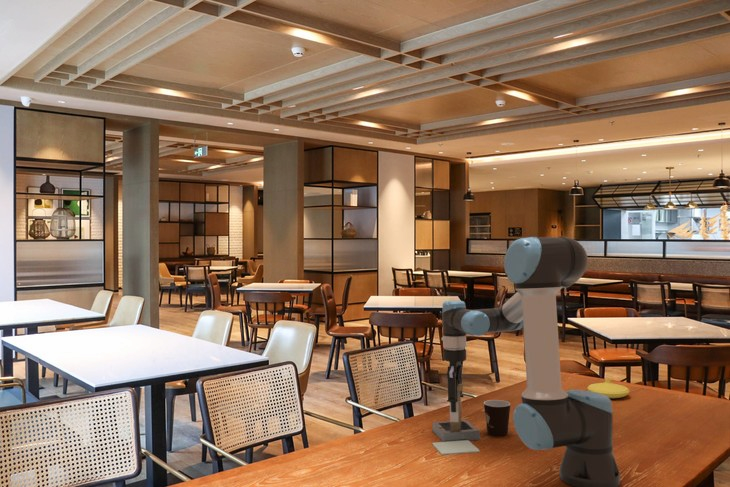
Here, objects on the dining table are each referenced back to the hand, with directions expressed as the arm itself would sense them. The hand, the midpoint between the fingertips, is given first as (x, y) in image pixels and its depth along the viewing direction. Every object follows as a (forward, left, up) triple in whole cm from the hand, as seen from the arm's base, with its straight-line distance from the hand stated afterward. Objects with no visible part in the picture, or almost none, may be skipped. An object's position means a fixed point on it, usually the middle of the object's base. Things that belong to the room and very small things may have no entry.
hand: (455, 419), depth 202 cm
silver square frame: (0, 0, -5) cm, 5 cm away
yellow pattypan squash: (+33, -75, -6) cm, 83 cm away
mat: (-11, +4, -5) cm, 13 cm away
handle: (0, 0, -4) cm, 4 cm away
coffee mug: (0, -14, -6) cm, 15 cm away
